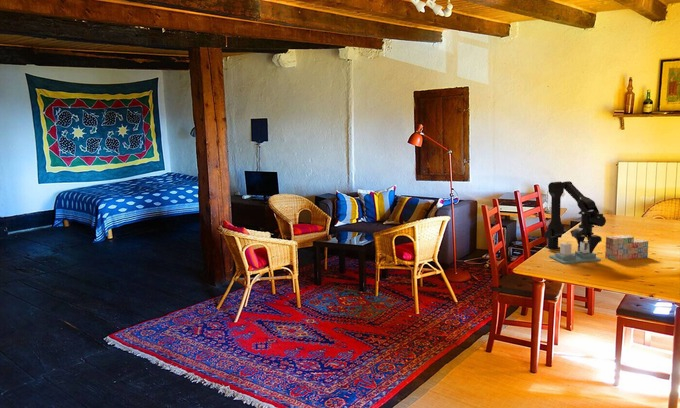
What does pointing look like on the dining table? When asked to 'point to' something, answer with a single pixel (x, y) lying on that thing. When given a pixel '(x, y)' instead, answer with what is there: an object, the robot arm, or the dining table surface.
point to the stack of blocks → (625, 247)
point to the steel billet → (584, 247)
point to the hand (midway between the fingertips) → (585, 250)
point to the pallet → (572, 255)
